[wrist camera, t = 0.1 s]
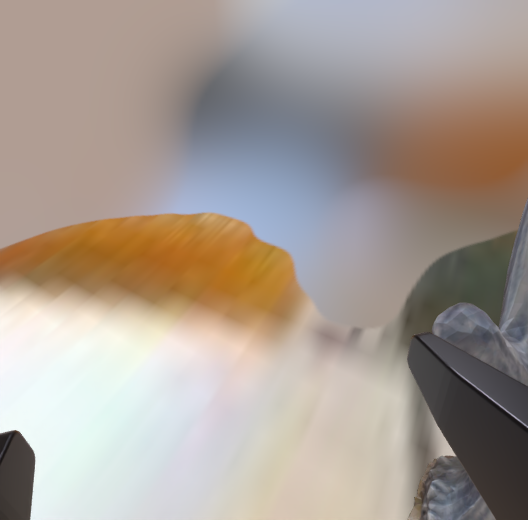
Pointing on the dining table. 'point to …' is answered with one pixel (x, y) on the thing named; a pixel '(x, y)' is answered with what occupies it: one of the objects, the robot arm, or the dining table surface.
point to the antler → (496, 355)
